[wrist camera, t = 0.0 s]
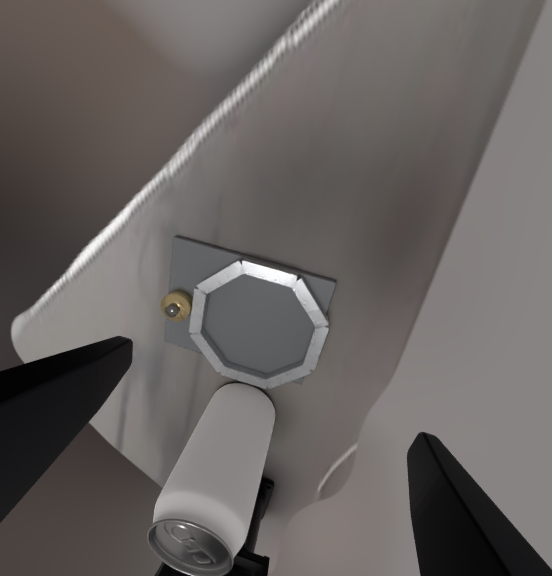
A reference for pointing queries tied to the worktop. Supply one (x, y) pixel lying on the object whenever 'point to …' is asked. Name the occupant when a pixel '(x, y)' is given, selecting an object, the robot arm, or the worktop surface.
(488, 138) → the worktop surface
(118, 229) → the worktop surface
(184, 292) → the brass round knob
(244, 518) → the can
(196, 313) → the socket
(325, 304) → the carrier plate
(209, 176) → the worktop surface
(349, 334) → the worktop surface
